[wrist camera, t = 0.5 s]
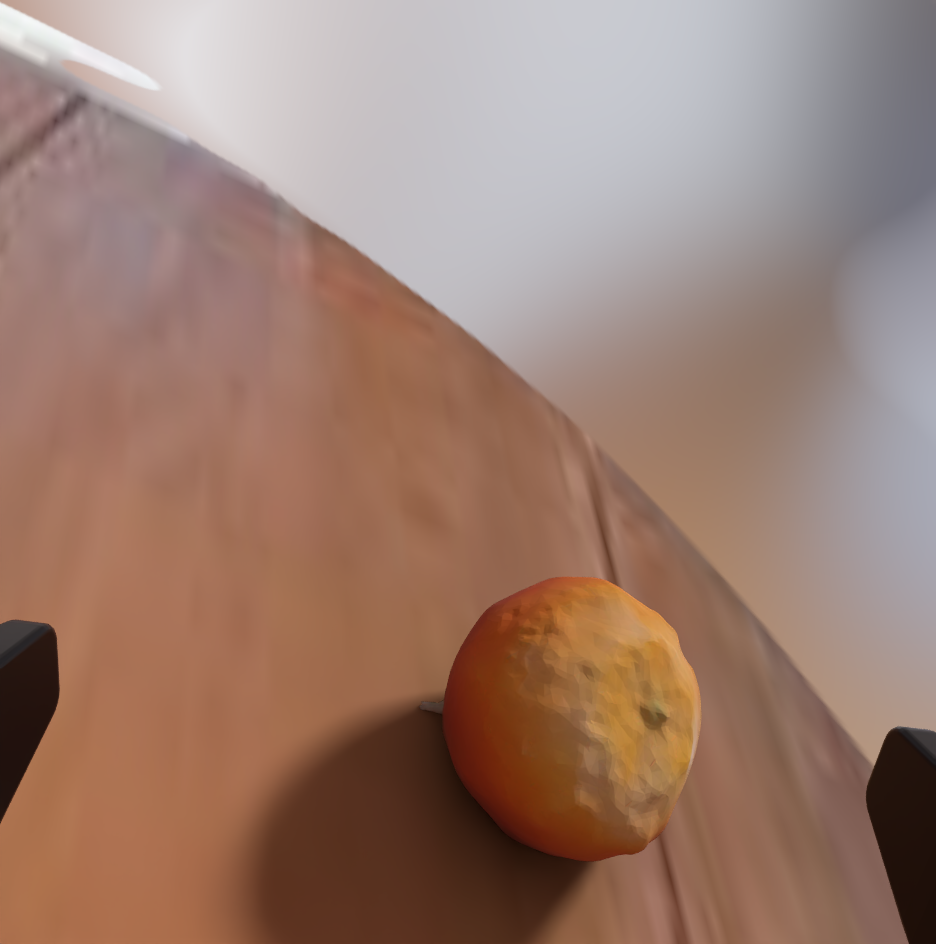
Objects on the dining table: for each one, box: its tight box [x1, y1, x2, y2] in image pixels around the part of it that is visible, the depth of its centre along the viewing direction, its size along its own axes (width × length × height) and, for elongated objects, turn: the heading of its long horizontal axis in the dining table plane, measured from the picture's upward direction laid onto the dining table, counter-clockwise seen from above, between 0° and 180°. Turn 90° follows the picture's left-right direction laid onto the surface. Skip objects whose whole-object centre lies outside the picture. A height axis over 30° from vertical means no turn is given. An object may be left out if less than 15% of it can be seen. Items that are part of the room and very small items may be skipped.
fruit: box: [419, 577, 701, 861], centre depth 26 cm, size 8×8×8 cm
